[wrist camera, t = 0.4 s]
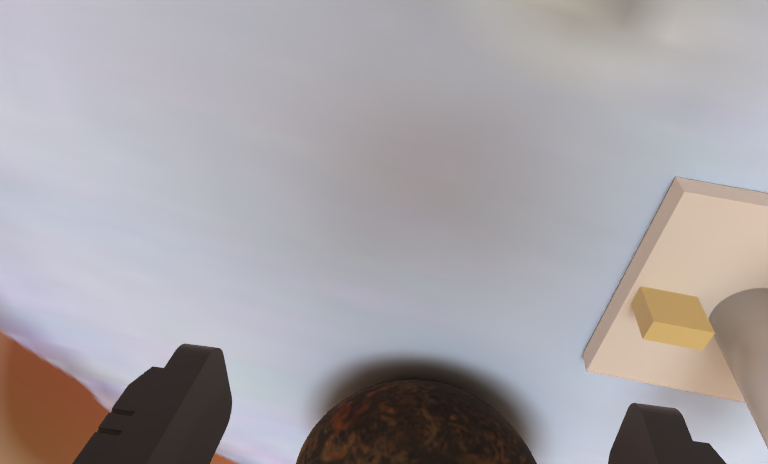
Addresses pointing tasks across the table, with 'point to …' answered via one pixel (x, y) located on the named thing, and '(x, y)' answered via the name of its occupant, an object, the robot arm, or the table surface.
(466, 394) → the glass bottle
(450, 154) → the table surface
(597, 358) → the post base
